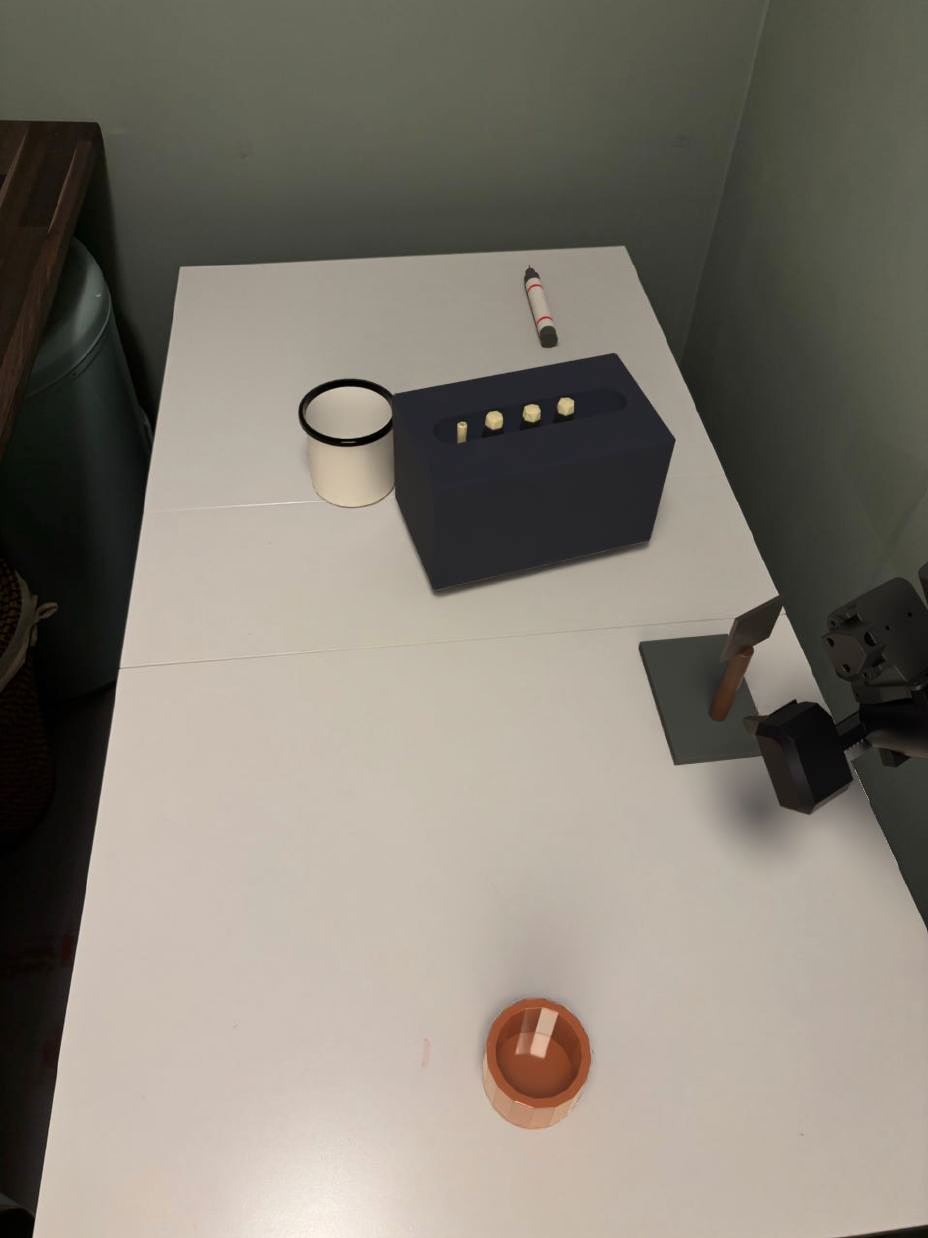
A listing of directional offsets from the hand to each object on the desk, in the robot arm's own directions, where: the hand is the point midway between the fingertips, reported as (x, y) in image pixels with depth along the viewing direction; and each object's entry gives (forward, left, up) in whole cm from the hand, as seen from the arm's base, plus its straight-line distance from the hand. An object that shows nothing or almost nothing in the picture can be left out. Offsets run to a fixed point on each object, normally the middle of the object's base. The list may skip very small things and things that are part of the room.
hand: (792, 696), depth 72 cm
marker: (+53, -38, -10) cm, 66 cm away
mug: (+47, -2, -10) cm, 48 cm away
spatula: (+5, -1, -9) cm, 10 cm away
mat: (+7, -2, -10) cm, 12 cm away
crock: (-1, +31, -10) cm, 32 cm away
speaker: (+31, -7, -10) cm, 33 cm away
